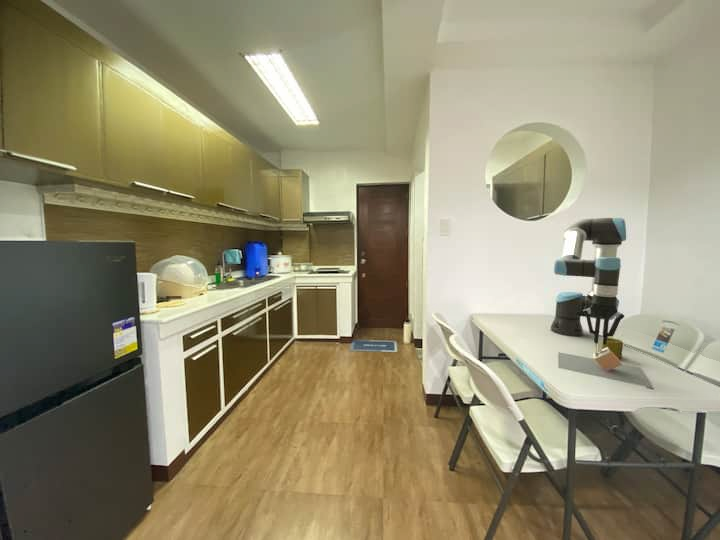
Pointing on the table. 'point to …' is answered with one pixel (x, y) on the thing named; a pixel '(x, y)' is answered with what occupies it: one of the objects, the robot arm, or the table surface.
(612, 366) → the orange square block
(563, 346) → the table surface
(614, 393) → the table surface
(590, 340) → the table surface
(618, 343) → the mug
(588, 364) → the mat
